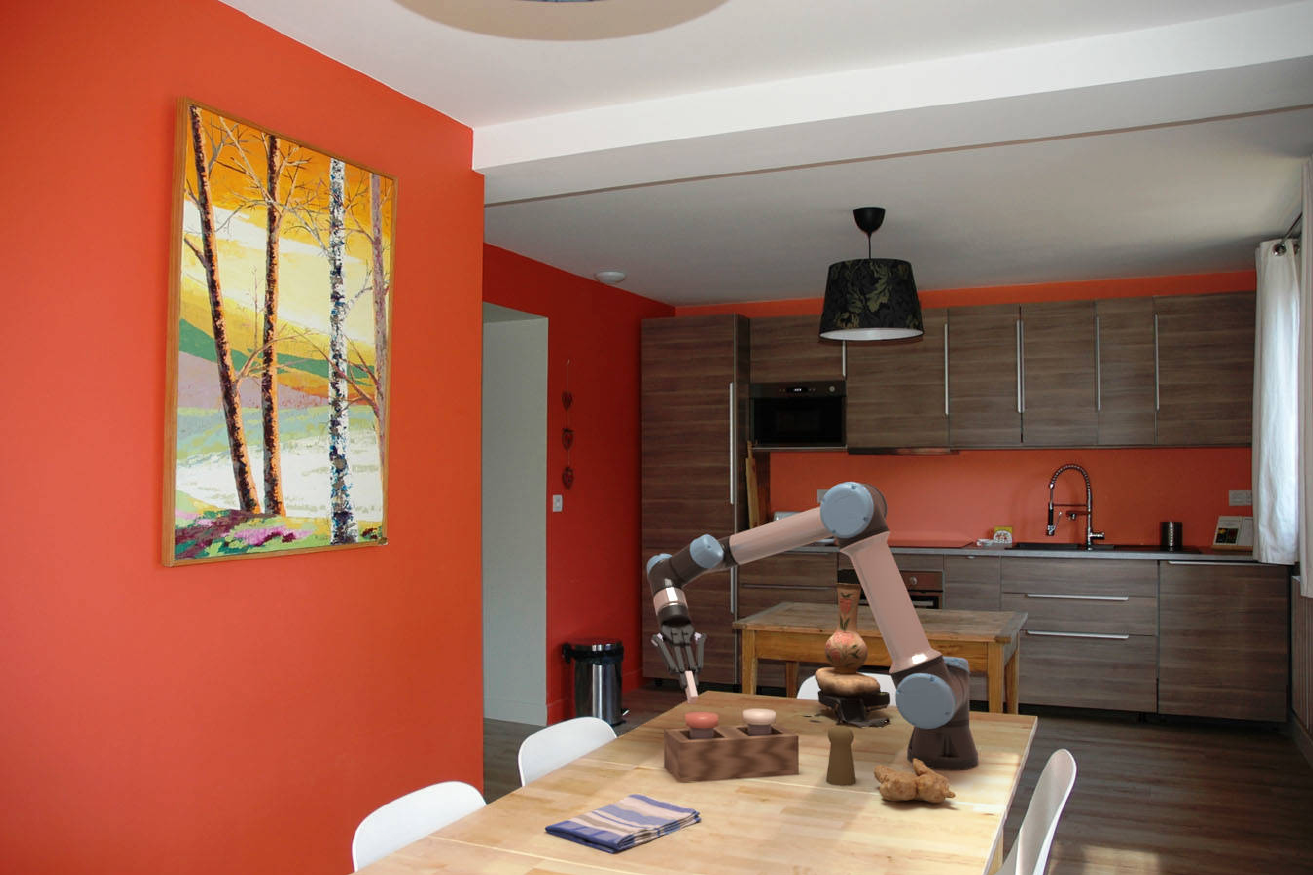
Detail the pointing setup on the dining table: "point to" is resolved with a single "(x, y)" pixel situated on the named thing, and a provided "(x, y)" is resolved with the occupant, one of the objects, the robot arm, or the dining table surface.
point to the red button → (701, 724)
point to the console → (731, 754)
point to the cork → (840, 757)
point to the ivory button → (759, 721)
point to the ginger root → (912, 784)
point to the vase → (849, 668)
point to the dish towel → (625, 823)
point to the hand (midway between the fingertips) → (693, 699)
